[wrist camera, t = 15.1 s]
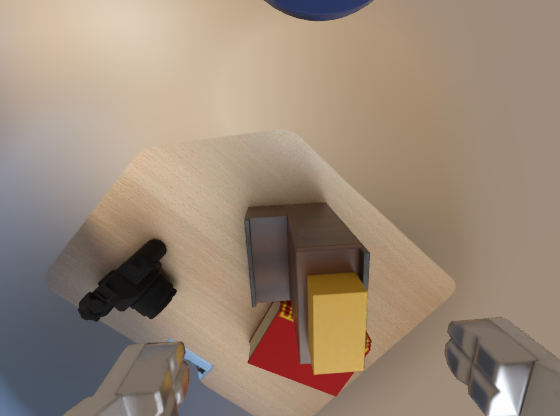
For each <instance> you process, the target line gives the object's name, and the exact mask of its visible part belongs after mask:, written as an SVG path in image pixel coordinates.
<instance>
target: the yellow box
mask: <svg viewBox="0 0 560 416" xmlns="http://www.w3.org/2000/svg"><path fill="white" fill-rule="evenodd" d="M307 295H308V348H309V353H310V358H311V363H312V368H313V373H314V375H316V374H329V373H342V372H355V371H364V354H365V336H366V318H367V300H368V291H367V290H366V288H365V286H364V285H363V283H362V282H361V280H360V279H359V277H358V276H357V274H356V273H355V272H353V273H337V274H321V275H307Z"/></svg>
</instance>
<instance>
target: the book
mask: <svg viewBox="0 0 560 416" xmlns="http://www.w3.org/2000/svg"><path fill="white" fill-rule="evenodd" d="M371 342H372V341H371V339H370V337H369V335H368V333H367V331H366V342H365V357H366V355H367V354H368V353H369V351H370V350H371V349H370V347H371V344H370V343H371ZM249 343H250V353H249V360H248V363H249V364H251V365H254V366H257V367H259V368H262V369H264V370H267V371H270V372H272V373H275V374H278V375H280V376H283V377H286V378H288V379H291V380H294V381H296V382H299V383H302V384H304V385H307V386H310V387H312V388H315V389H318V390H320V391H323V392H325V393H328V394H331V395H333V396H337V395H338V393H339V392H340V391H341V389H342V388H343V387H344V385H345V384H346V383H347V381H348V380H349V378H350V377H351V376H352V374H353V373H354V372H342V373H329V374H316V375H314V373H313V368H312V363H311V364H300V362H299V355H298V348H297V341H296V334H295V327H294V320H293V313H292V306H291V300H286V301H273V303H272V304H271V306H270V308H269V309H268V311H267V313H266V314H265V316H264V318H263V319H262V321H261V323H260V324H259V326H258V328H257V330H256V331H255V333H254V335H253V336H252V338H251V340H250V341H249Z"/></svg>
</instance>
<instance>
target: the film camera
mask: <svg viewBox="0 0 560 416" xmlns="http://www.w3.org/2000/svg"><path fill="white" fill-rule="evenodd" d="M166 251H167V249H166V246H165V244H164V243H162V242H161V241H159V240H150V241H148V242H147V243H146V244H145V245H144V246H142V247H141V248H140V249H139V250H138V251H137V252H136V253H135V254H134V255H133V256H131V257H130V258H129V259H128V260H127V261H126V262H124V263H123V264H122V265H121V266H120V267H119V268H118V269H117V270H116V271H114V270H112V271H111V272H109V273H108V274H107V275H106V276H105V277H104V278H103V279H102V280H101V281H99V283H98V285H99V287H98V288H96V289H95V290H94V291H93V292H92V293H91V292H89V293H87V294H86V295H85V296H84V298H83V299H82V300H81V301H80V303H79V309H78V311H79V313H80V314H81V317H82V318H83V319H85V320H93V321H96V322H97V321H98V320H99V319H100V317H104V316H106V315H107V314H108V313H109V312H110V311H111V310H112V309H113V307H115V308H116V309H117V310H119V311H125V310H126V309H127V308H128V307H129V306H130V307H131V308H132V309H135V310H136V311H138V312H139V313H140V314H141V315H143V316H147V317H149V318H150V319H153V318H154V317H156V316H157V315H158V314H159V313H160V312H161V311H162V310H163V309H164V308H165V307H166V306H167V305H168V304H169V302H170V301H171V300H172V297H173V296H175V294H176V292H177V290H176V289H175V288H173V285H172V284H171V283H170V282H169V281H168V280H166V279H165V278H164V276H163V275H162V274H159V270H158V269H159V268H160V267H161V266H162V264H161V262H160V261H159V260H160V259H161V258H162V257H163V256H164V255H165V254H166ZM156 264H157V265H159V266H160V267H159V268H157V266H156Z"/></svg>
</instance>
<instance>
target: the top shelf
mask: <svg viewBox="0 0 560 416" xmlns="http://www.w3.org/2000/svg"><path fill="white" fill-rule="evenodd" d="M369 261H370V252H369V251H368V250H367V249H366V248H365V247H364V246H363V244H352V245H336V246H321V247H306V248H295V264H296V291H297V319H298V347H299V362H300V364H311V358H310V353H309V348H308V295H307V275H321V274H337V273H353V272H355V273H356V274H357V276H358V277H359V279H360V280H361V282H362V283H363V285H364V286H365V288H366V290H367V291H368V281H369ZM367 301H368V300H367ZM366 322H367V318H366ZM365 342H366V336H365ZM364 362H365V354H364Z"/></svg>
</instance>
